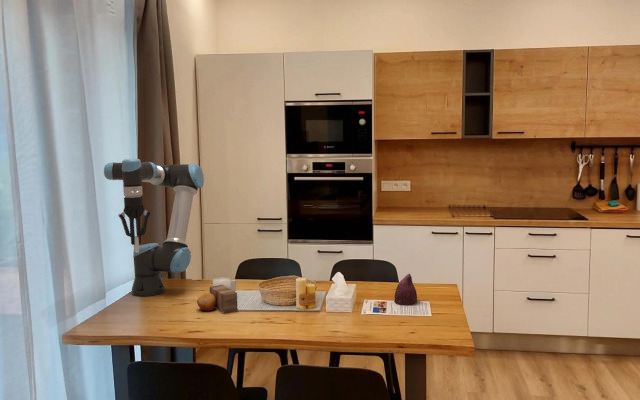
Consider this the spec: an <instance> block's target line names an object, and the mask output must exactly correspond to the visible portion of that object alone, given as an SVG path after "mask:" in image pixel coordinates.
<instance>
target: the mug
mask: <svg viewBox="0 0 640 400" xmlns="http://www.w3.org/2000/svg"><path fill="white" fill-rule="evenodd" d="M217 285H224V286H225V287H227V288H229V289H231V290H233V291H235V292H237V280H236V279H232V280H231V278H230V277H228V276H227V277H226V276H220V277H215V278H213V279H212V286H217Z"/></svg>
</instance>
